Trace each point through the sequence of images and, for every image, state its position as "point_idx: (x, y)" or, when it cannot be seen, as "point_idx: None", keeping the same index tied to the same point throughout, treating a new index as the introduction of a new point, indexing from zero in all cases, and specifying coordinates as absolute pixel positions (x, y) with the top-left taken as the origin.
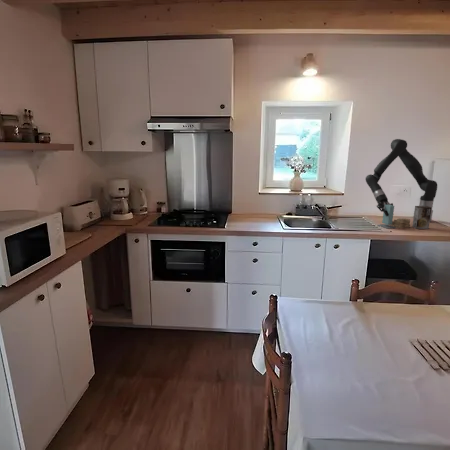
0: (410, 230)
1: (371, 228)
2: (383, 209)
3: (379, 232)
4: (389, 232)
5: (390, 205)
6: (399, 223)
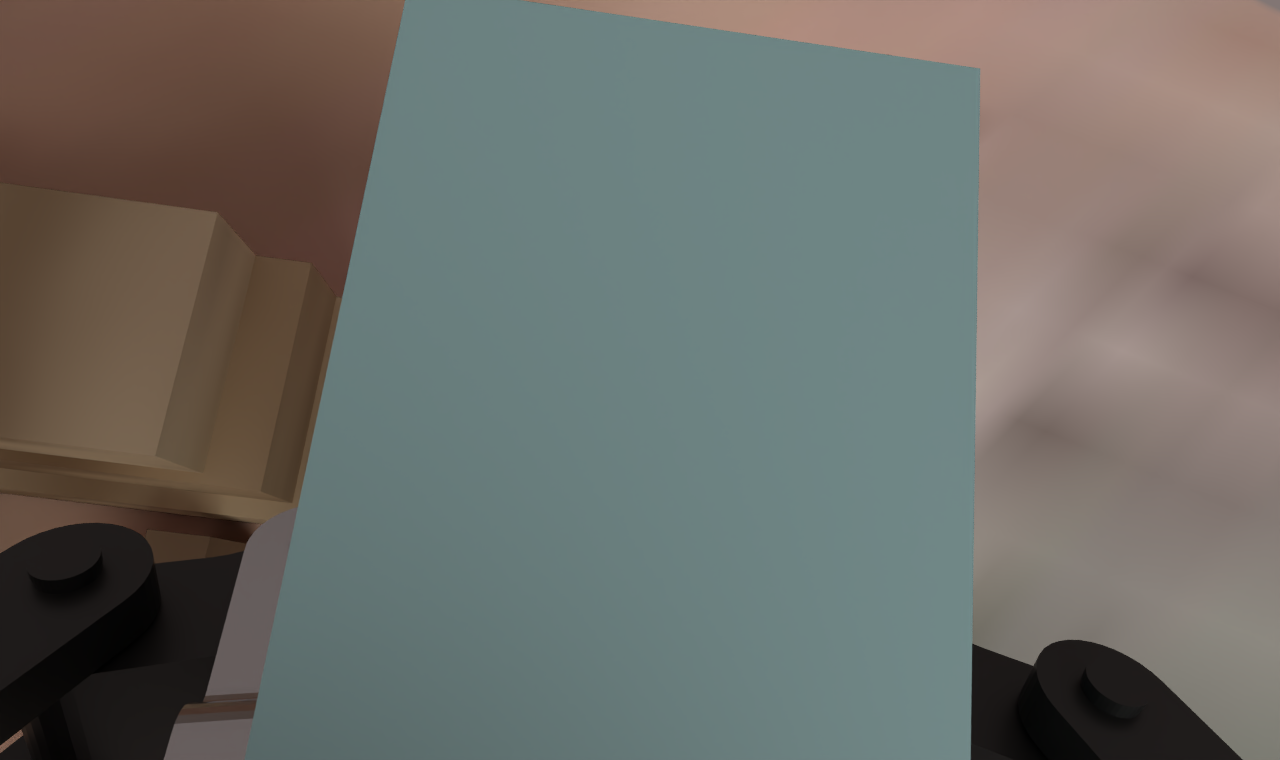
0: (318, 31)
1: (1180, 605)
2: (1109, 671)
3: (1249, 204)
4: (1010, 110)
5: (609, 364)
6: (315, 286)
